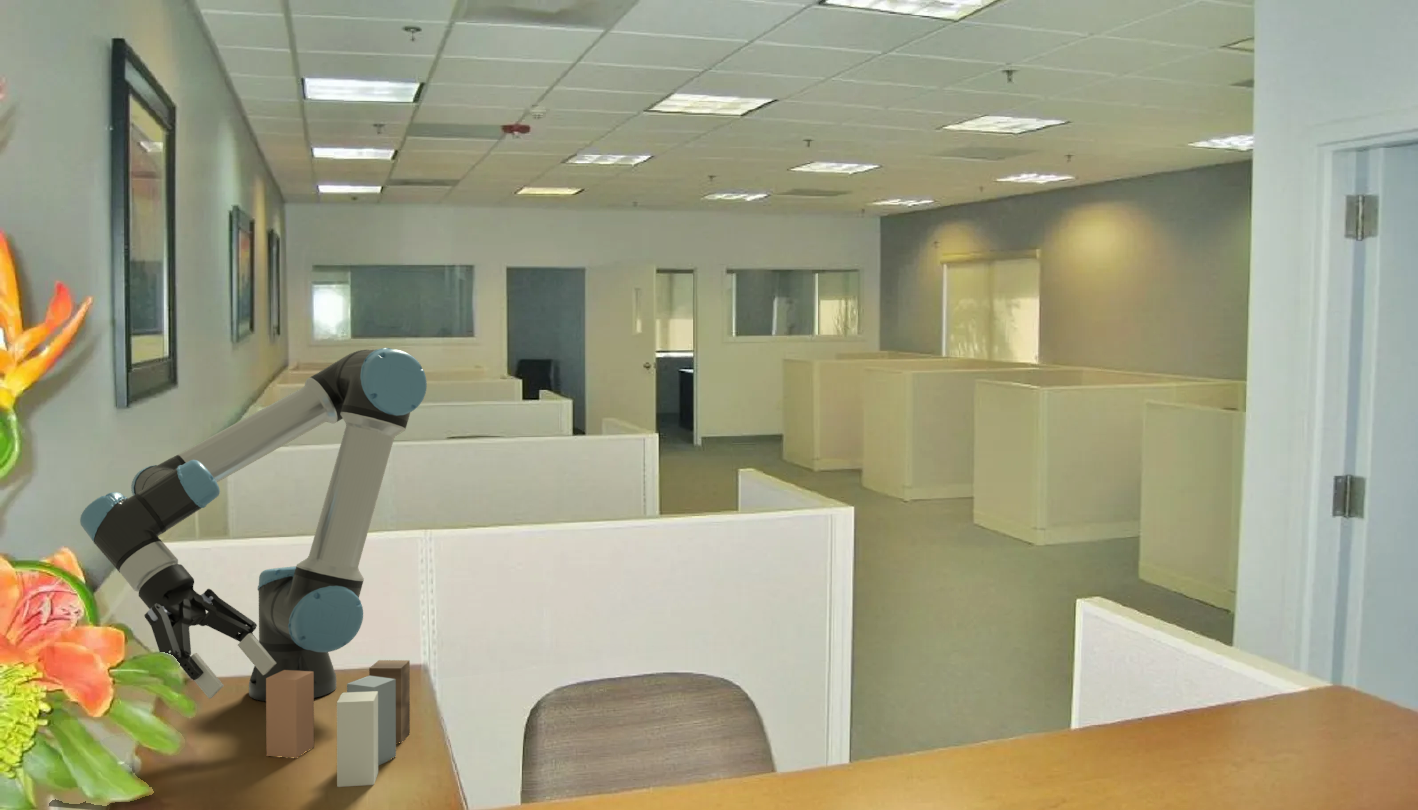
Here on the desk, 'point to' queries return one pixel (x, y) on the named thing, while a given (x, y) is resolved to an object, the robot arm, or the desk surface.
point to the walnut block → (397, 691)
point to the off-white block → (357, 738)
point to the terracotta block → (289, 713)
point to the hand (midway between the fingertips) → (244, 680)
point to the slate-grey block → (381, 712)
